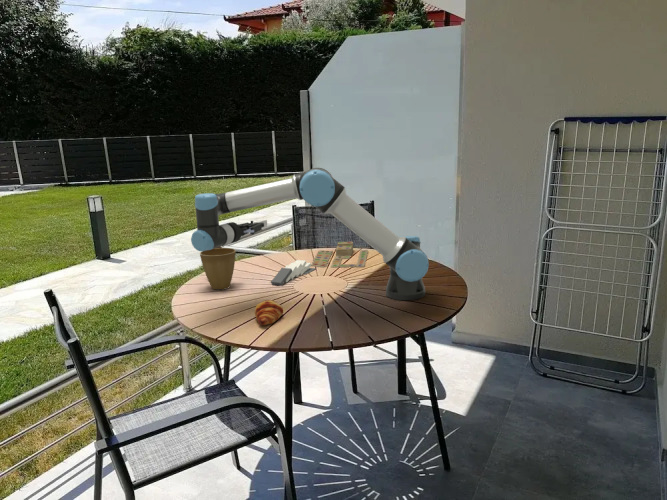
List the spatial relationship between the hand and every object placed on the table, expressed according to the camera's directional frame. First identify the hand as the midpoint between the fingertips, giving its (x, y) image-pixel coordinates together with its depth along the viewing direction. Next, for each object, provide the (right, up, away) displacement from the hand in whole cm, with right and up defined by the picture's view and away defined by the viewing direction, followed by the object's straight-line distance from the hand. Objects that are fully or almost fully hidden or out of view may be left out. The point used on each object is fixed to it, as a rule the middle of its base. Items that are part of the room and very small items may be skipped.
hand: (265, 223), depth 210 cm
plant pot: (-21, -27, +13) cm, 36 cm away
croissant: (+5, -35, -26) cm, 44 cm away
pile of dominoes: (+31, -16, +52) cm, 62 cm away
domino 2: (+5, -24, +15) cm, 29 cm away
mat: (+14, -21, +32) cm, 40 cm away
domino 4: (+9, -22, +23) cm, 33 cm away
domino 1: (+3, -25, +11) cm, 28 cm away
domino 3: (+7, -23, +19) cm, 31 cm away
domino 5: (+10, -22, +26) cm, 35 cm away
